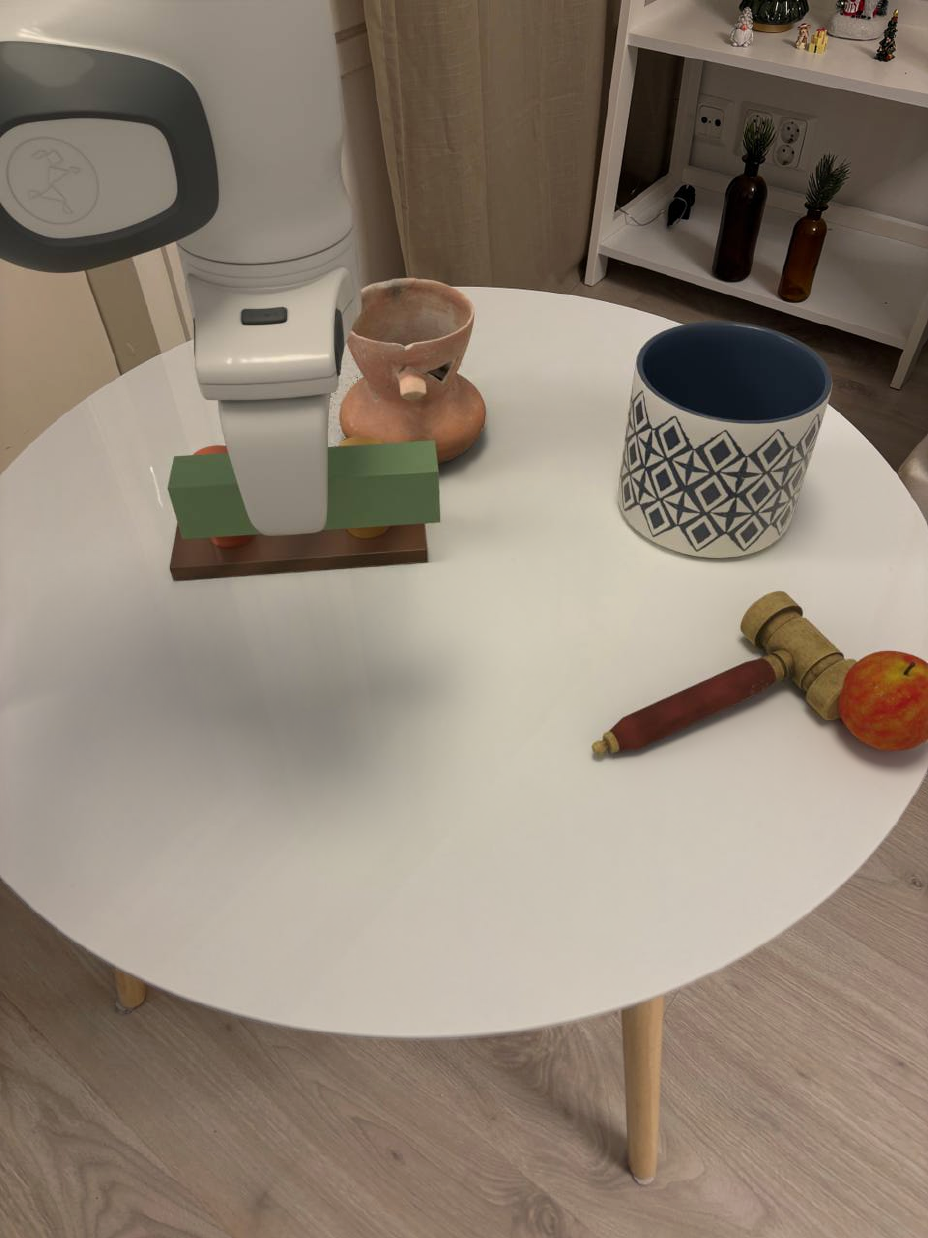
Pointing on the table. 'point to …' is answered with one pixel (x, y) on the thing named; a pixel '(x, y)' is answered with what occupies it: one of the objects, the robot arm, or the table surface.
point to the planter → (720, 436)
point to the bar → (357, 490)
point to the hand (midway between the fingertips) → (308, 493)
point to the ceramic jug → (413, 368)
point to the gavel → (746, 677)
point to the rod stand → (297, 546)
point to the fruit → (887, 700)
